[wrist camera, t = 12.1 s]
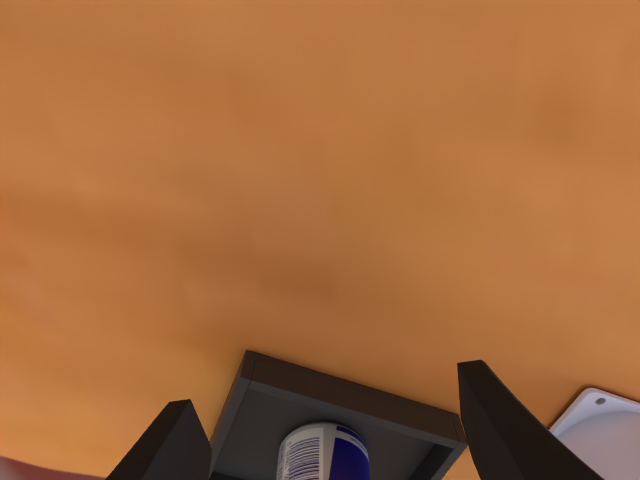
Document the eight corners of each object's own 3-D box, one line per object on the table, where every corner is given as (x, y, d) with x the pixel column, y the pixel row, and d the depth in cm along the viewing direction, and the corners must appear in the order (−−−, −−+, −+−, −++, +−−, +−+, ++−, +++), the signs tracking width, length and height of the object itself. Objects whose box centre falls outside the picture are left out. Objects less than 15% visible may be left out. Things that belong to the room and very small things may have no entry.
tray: (458, 414, 26) (468, 444, 24) (385, 513, 30) (389, 546, 28) (246, 349, 24) (239, 377, 22) (199, 465, 28) (190, 496, 26)
